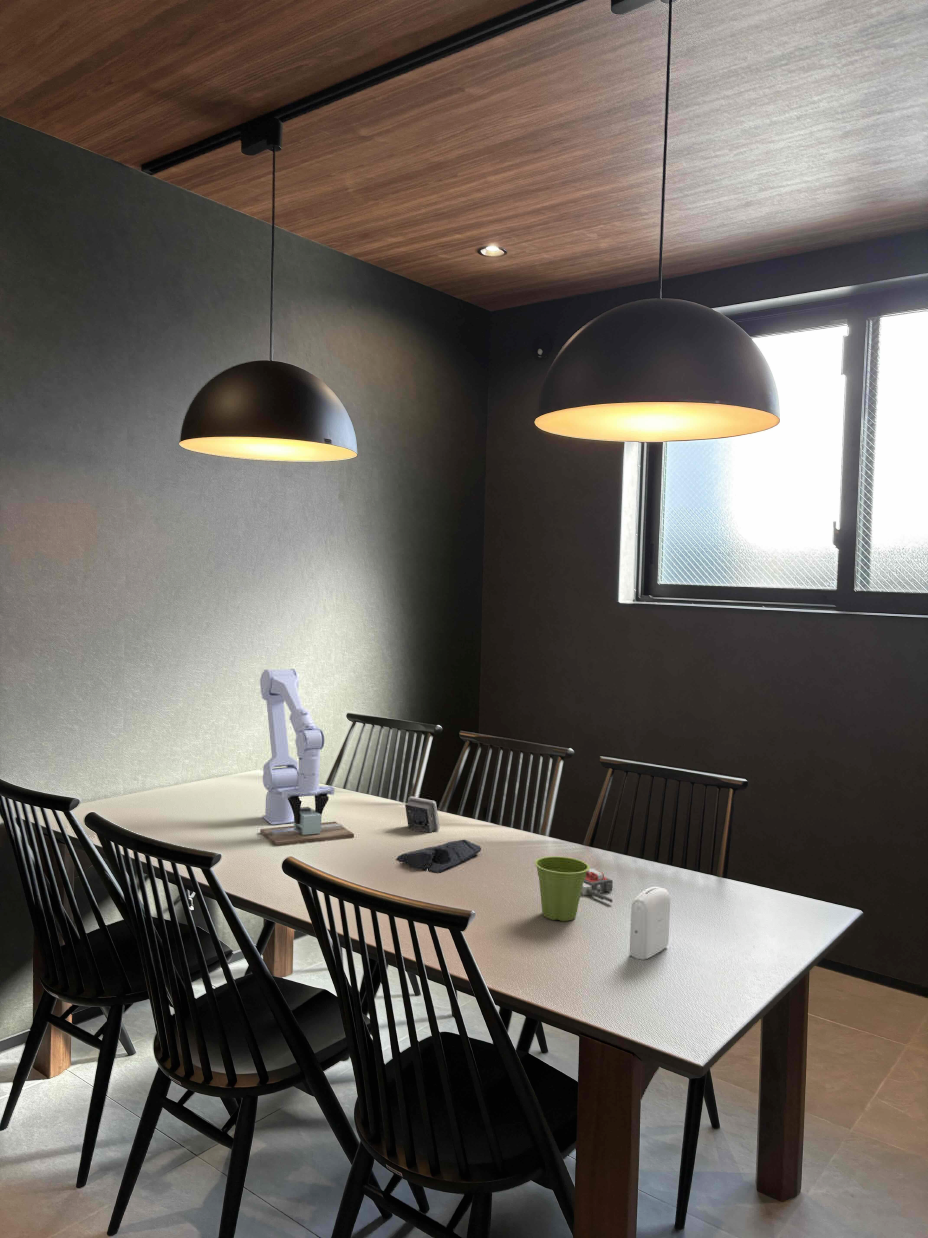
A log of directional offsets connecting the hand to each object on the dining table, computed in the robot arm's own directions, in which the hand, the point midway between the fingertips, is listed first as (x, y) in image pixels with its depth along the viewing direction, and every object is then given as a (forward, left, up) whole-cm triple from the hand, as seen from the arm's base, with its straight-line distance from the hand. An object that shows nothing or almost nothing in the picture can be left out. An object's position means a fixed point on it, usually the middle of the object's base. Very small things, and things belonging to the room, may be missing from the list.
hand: (307, 822), depth 249 cm
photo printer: (+102, +34, -4) cm, 108 cm away
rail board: (0, 0, -4) cm, 4 cm away
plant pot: (+79, +29, -4) cm, 84 cm away
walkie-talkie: (+68, +46, -4) cm, 83 cm away
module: (0, 0, -2) cm, 2 cm away
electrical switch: (+7, +32, -4) cm, 33 cm away
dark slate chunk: (+33, +25, -4) cm, 41 cm away
